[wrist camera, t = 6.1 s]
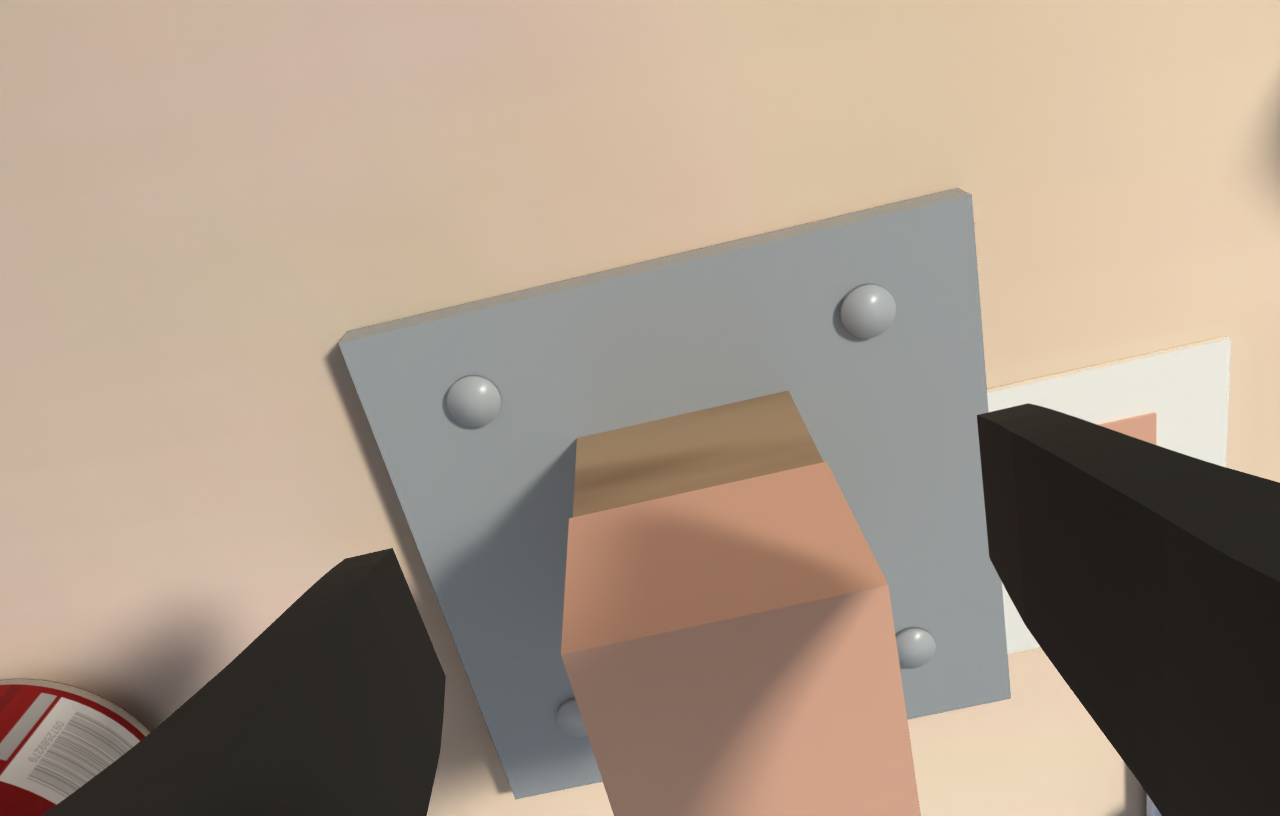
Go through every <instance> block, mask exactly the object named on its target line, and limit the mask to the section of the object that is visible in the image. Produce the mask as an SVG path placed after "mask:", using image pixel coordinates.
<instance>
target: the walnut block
mask: <svg viewBox="0 0 1280 816" xmlns="http://www.w3.org/2000/svg"><path fill="white" fill-rule="evenodd" d="M822 462H823V460H822V458H821V456H820V454H819V452H818V450H817V448H816V445H815V443H814V441H813V439H812V437H811V435H810V433H809V431H808V429H807V427H806V425H805V423H804V421H803V419H802V417H801V415H800V413H799V411H798V409H797V407H796V405H795V403H794V401H793V399H792V397H791V395H790V393H789V391H783V392H779V393H775V394H770V395H766V396H761V397H757V398H752V399H748V400H743V401H739V402H735V403H730V404H726V405H721V406H717V407H712V408H708V409H703V410H699V411H695V412H690V413H686V414H681V415H677V416H672V417H668V418H664V419H659V420H655V421H650V422H646V423H641V424H637V425H632V426H628V427H624V428H619V429H615V430H610V431H606V432H601V433H597V434H592V435H588V436H584V437H579V438H577V446H576V465H575V484H574V503H573V517H577V516H582V515H586V514H591V513H595V512H600V511H604V510H609V509H613V508H618V507H622V506H627V505H632V504H636V503H641V502H645V501H650V500H654V499H659V498H663V497H668V496H672V495H677V494H681V493H686V492H691V491H695V490H700V489H704V488H709V487H713V486H718V485H722V484H727V483H731V482H736V481H740V480H745V479H750V478H754V477H759V476H763V475H768V474H772V473H777V472H781V471H786V470H790V469H795V468H799V467H804V466H809V465H813V464H818V463H822Z"/></svg>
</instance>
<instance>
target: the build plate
mask: <svg viewBox="0 0 1280 816" xmlns="http://www.w3.org/2000/svg"><path fill="white" fill-rule="evenodd" d="M338 344H339V347H340V349H341V352H342V354H343V357H344V360H345V362H346V365H347V367H348V370H349V372H350V375H351V378H352V380H353V383H354V385H355V388H356V390H357V393H358V396H359V398H360V401H361V403H362V406H363V408H364V411H365V414H366V416H367V419H368V421H369V424H370V426H371V429H372V432H373V434H374V437H375V439H376V442H377V444H378V447H379V450H380V452H381V455H382V457H383V460H384V462H385V465H386V468H387V470H388V473H389V475H390V478H391V480H392V483H393V486H394V488H395V491H396V493H397V496H398V498H399V501H400V504H401V506H402V509H403V511H404V514H405V517H406V519H407V522H408V524H409V527H410V529H411V532H412V535H413V537H414V540H415V542H416V545H417V547H418V550H419V553H420V555H421V558H422V560H423V563H424V565H425V568H426V571H427V573H428V576H429V578H430V581H431V583H432V586H433V589H434V591H435V594H436V596H437V599H438V601H439V604H440V607H441V609H442V612H443V614H444V617H445V619H446V622H447V625H448V627H449V630H450V632H451V635H452V637H453V640H454V643H455V645H456V648H457V650H458V653H459V655H460V658H461V661H462V663H463V666H464V668H465V671H466V673H467V676H468V679H469V681H470V684H471V686H472V689H473V691H474V694H475V697H476V699H477V702H478V704H479V707H480V709H481V712H482V715H483V717H484V720H485V722H486V725H487V727H488V730H489V733H490V735H491V738H492V740H493V743H494V745H495V748H496V751H497V753H498V756H499V758H500V761H501V763H502V766H503V769H504V771H505V774H506V776H507V779H508V781H509V784H510V787H511V789H512V792H513V794H514V797H515V799H519V798H524V797H529V796H534V795H539V794H544V793H549V792H554V791H559V790H564V789H568V788H573V787H578V786H583V785H588V784H593V783H598V782H603V780H602V777H601V774H600V771H599V768H598V765H597V762H596V759H595V756H594V753H593V750H592V747H591V744H590V741H589V738H588V735H587V732H586V729H585V726H584V723H583V720H582V717H581V714H580V711H579V708H578V705H577V702H576V699H575V696H574V693H573V690H572V687H571V684H570V681H569V678H568V675H567V672H566V669H565V666H564V663H563V660H562V657H561V644H562V627H563V610H564V594H565V577H566V561H567V544H568V528H569V518H573V503H574V484H575V465H576V446H577V438H579V437H584V436H588V435H592V434H597V433H601V432H606V431H610V430H615V429H619V428H624V427H628V426H632V425H637V424H641V423H646V422H650V421H655V420H659V419H664V418H668V417H672V416H677V415H681V414H686V413H690V412H695V411H699V410H703V409H708V408H712V407H717V406H721V405H726V404H730V403H735V402H739V401H743V400H748V399H752V398H757V397H761V396H766V395H770V394H775V393H779V392H783V391H789V393H790V395H791V397H792V399H793V401H794V403H795V405H796V407H797V409H798V411H799V413H800V415H801V417H802V419H803V421H804V423H805V425H806V427H807V429H808V431H809V433H810V435H811V437H812V439H813V441H814V443H815V445H816V448H817V450H818V452H819V454H820V456H821V458H822V460H823V462H827V463H828V465H829V467H830V469H831V471H832V473H833V475H834V477H835V479H836V481H837V483H838V485H839V487H840V489H841V491H842V493H843V495H844V497H845V499H846V501H847V503H848V505H849V507H850V509H851V511H852V513H853V515H854V517H855V519H856V521H857V523H858V525H859V527H860V529H861V531H862V533H863V535H864V537H865V539H866V541H867V543H868V545H869V547H870V549H871V551H872V553H873V555H874V557H875V559H876V561H877V563H878V565H879V567H880V569H881V571H882V573H883V575H884V577H885V579H886V581H887V583H888V586H889V593H890V600H891V607H892V615H893V622H894V629H895V636H896V643H897V650H898V657H899V664H900V672H901V679H902V686H903V693H904V700H905V707H906V714H907V719H912V718H917V717H922V716H927V715H932V714H937V713H942V712H947V711H952V710H956V709H961V708H966V707H971V706H976V705H981V704H986V703H991V702H996V701H1001V700H1006V699H1010V698H1011V694H1010V681H1009V668H1008V655H1007V642H1006V630H1005V617H1004V604H1003V591H1002V581H1001V579H1000V577H999V575H998V573H997V571H996V570H995V568H994V566H993V564H992V562H991V560H990V558H989V548H988V536H987V525H986V514H985V503H984V491H983V480H982V469H981V458H980V446H979V435H978V424H977V415H979V414H984V413H988V412H989V411H988V398H987V386H986V373H985V360H984V347H983V334H982V321H981V309H980V296H979V283H978V270H977V257H976V244H975V232H974V219H973V206H972V195H971V194H969V193H967V192H965V191H963V190H961V189H959V188H956V189H951V190H947V191H943V192H939V193H934V194H930V195H926V196H922V197H917V198H913V199H909V200H905V201H900V202H896V203H892V204H888V205H883V206H879V207H875V208H871V209H866V210H862V211H858V212H854V213H849V214H845V215H841V216H837V217H832V218H828V219H824V220H820V221H815V222H811V223H807V224H802V225H798V226H794V227H790V228H785V229H781V230H777V231H773V232H768V233H764V234H760V235H756V236H751V237H747V238H743V239H739V240H734V241H730V242H726V243H722V244H717V245H713V246H709V247H705V248H700V249H696V250H692V251H688V252H683V253H679V254H675V255H670V256H666V257H662V258H658V259H653V260H649V261H645V262H641V263H636V264H632V265H628V266H624V267H619V268H615V269H611V270H607V271H602V272H598V273H594V274H590V275H585V276H581V277H577V278H573V279H568V280H564V281H560V282H556V283H551V284H547V285H543V286H538V287H534V288H530V289H526V290H521V291H517V292H513V293H509V294H504V295H500V296H496V297H492V298H487V299H483V300H479V301H475V302H470V303H466V304H462V305H458V306H453V307H449V308H445V309H441V310H436V311H432V312H428V313H424V314H419V315H415V316H411V317H407V318H402V319H398V320H394V321H389V322H385V323H381V324H377V325H372V326H368V327H364V328H360V329H355V330H351V331H347V333H346V334H345V335H344V336H343V338H342V339H341V340H340V342H339V343H338Z"/></svg>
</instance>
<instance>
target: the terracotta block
mask: <svg viewBox="0 0 1280 816" xmlns="http://www.w3.org/2000/svg"><path fill="white" fill-rule="evenodd" d="M561 657H562V660H563V663H564V666H565V669H566V672H567V675H568V678H569V681H570V684H571V687H572V690H573V693H574V696H575V699H576V702H577V705H578V708H579V711H580V714H581V717H582V720H583V723H584V726H585V729H586V732H587V735H588V738H589V741H590V744H591V747H592V750H593V753H594V756H595V759H596V762H597V765H598V768H599V771H600V774H601V777H602V780H603V783H604V786H605V789H606V792H607V795H608V798H609V801H610V804H611V807H612V810H613V813H614V816H921V814H920V807H919V800H918V793H917V786H916V779H915V771H914V764H913V757H912V750H911V743H910V736H909V729H908V722H907V714H906V707H905V700H904V693H903V686H902V679H901V672H900V664H899V657H898V650H897V643H896V636H895V629H894V622H893V615H892V607H891V600H890V593H889V586H888V583H887V581H886V579H885V577H884V575H883V573H882V571H881V569H880V567H879V565H878V563H877V561H876V559H875V557H874V555H873V553H872V551H871V549H870V547H869V545H868V543H867V541H866V539H865V537H864V535H863V533H862V531H861V529H860V527H859V525H858V523H857V521H856V519H855V517H854V515H853V513H852V511H851V509H850V507H849V505H848V503H847V501H846V499H845V497H844V495H843V493H842V491H841V489H840V487H839V485H838V483H837V481H836V479H835V477H834V475H833V473H832V471H831V469H830V467H829V465H828V463H827V462H822V463H818V464H813V465H809V466H804V467H799V468H795V469H790V470H786V471H781V472H777V473H772V474H768V475H763V476H759V477H754V478H750V479H745V480H740V481H736V482H731V483H727V484H722V485H718V486H713V487H709V488H704V489H700V490H695V491H691V492H686V493H681V494H677V495H672V496H668V497H663V498H659V499H654V500H650V501H645V502H641V503H636V504H632V505H627V506H622V507H618V508H613V509H609V510H604V511H600V512H595V513H591V514H586V515H582V516H577V517H573V518H569V528H568V544H567V561H566V577H565V594H564V610H563V627H562V644H561Z"/></svg>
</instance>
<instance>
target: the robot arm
mask: <svg viewBox="0 0 1280 816" xmlns="http://www.w3.org/2000/svg"><path fill="white" fill-rule="evenodd" d="M977 424H978V435H979V446H980V458H981V469H982V480H983V491H984V503H985V514H986V525H987V536H988V548H989V558H990V560H991V562H992V564H993V566H994V568H995V570H996V571H997V573H998V575H999V577H1000V579H1001V581H1002V583H1003V585H1004V587H1005V589H1006V591H1007V593H1008V595H1009V597H1010V598H1011V600H1012V602H1013V604H1014V606H1015V607H1016V609H1017V611H1018V613H1019V615H1020V616H1021V618H1022V620H1023V622H1024V624H1025V625H1026V627H1027V628H1028V630H1029V631H1030V633H1031V634H1032V635H1033V637H1034V638H1035V640H1036V641H1037V643H1038V644H1039V645H1040V647H1041V648H1042V650H1043V651H1044V652H1045V654H1046V655H1047V656H1048V658H1049V659H1050V661H1051V662H1052V663H1053V665H1054V666H1055V668H1056V669H1057V670H1058V672H1059V673H1060V674H1061V676H1062V677H1063V679H1064V680H1065V681H1066V683H1067V684H1068V685H1069V687H1070V688H1071V690H1072V691H1073V692H1074V694H1075V695H1076V696H1077V698H1078V699H1079V700H1080V702H1081V703H1082V705H1083V706H1084V707H1085V709H1086V710H1087V711H1088V713H1089V714H1090V715H1091V717H1092V718H1093V719H1094V721H1095V722H1096V724H1097V725H1098V726H1099V728H1100V729H1101V730H1102V732H1103V733H1104V734H1105V736H1106V737H1107V739H1108V740H1109V741H1110V743H1111V744H1112V745H1113V747H1114V748H1115V749H1116V751H1117V752H1118V754H1119V755H1120V756H1121V758H1122V759H1123V760H1124V762H1125V763H1126V764H1127V766H1128V767H1129V769H1130V770H1131V771H1132V773H1133V774H1134V775H1135V777H1136V778H1137V779H1138V781H1139V782H1140V784H1141V785H1142V787H1143V788H1144V790H1145V791H1146V793H1147V816H1280V483H1278V482H1275V481H1271V480H1268V479H1264V478H1261V477H1257V476H1254V475H1250V474H1247V473H1243V472H1240V471H1236V470H1233V469H1229V468H1226V467H1222V466H1219V465H1216V464H1213V463H1210V462H1206V461H1203V460H1200V459H1197V458H1194V457H1191V456H1188V455H1184V454H1181V453H1178V452H1175V451H1172V450H1169V449H1166V448H1163V447H1160V446H1157V445H1154V444H1152V443H1149V442H1146V441H1143V440H1140V439H1137V438H1134V437H1131V436H1128V435H1125V434H1123V433H1120V432H1117V431H1114V430H1111V429H1108V428H1105V427H1103V426H1100V425H1097V424H1094V423H1091V422H1088V421H1085V420H1083V419H1080V418H1077V417H1074V416H1071V415H1068V414H1065V413H1062V412H1059V411H1055V410H1052V409H1049V408H1045V407H1042V406H1038V405H1033V404H1029V403H1028V404H1023V405H1019V406H1014V407H1010V408H1006V409H1001V410H997V411H992V412H988V413H984V414H979V415H977ZM445 678H446V677H445V674H444V672H443V669H442V667H441V665H440V662H439V660H438V657H437V655H436V652H435V650H434V648H433V645H432V643H431V640H430V638H429V635H428V633H427V631H426V628H425V626H424V623H423V621H422V618H421V616H420V614H419V611H418V609H417V606H416V604H415V601H414V599H413V597H412V594H411V592H410V589H409V587H408V584H407V582H406V580H405V577H404V575H403V572H402V570H401V567H400V565H399V563H398V560H397V558H396V555H395V553H394V550H393V548H391V549H386V550H382V551H378V552H373V553H369V554H364V555H360V556H356V557H351V558H347V559H344V560H343V561H342V562H340V563H339V564H338V565H336V566H335V567H334V568H332V569H331V570H330V571H329V572H328V573H326V574H325V575H324V576H323V577H322V578H321V579H320V580H318V581H317V582H316V583H315V584H314V585H313V586H312V587H311V588H310V589H308V590H307V591H306V592H305V593H304V594H303V595H302V596H301V597H300V598H299V599H298V600H297V601H296V602H294V603H293V604H292V605H291V606H290V607H289V608H288V609H287V610H286V611H285V612H284V613H283V614H282V615H281V616H280V617H279V618H278V619H277V620H275V621H274V622H273V623H272V624H271V625H270V626H269V627H268V628H267V629H266V630H265V631H264V632H263V633H262V634H261V635H260V636H258V637H257V638H256V639H255V640H254V641H253V642H252V643H251V644H250V645H249V646H248V647H247V648H246V649H245V650H244V651H243V652H241V653H240V654H239V655H238V656H237V657H236V658H235V659H234V660H233V661H232V662H231V663H230V664H229V665H228V666H226V667H225V668H224V669H223V670H222V671H221V672H220V673H218V674H217V675H216V676H215V677H214V678H213V679H212V680H211V681H209V682H208V683H207V684H206V685H205V686H204V687H203V688H201V689H200V690H199V691H198V692H197V693H196V694H195V695H193V696H192V697H191V698H190V699H189V700H188V701H187V702H186V703H184V704H183V705H182V706H181V707H180V708H179V709H178V710H176V711H175V712H174V713H173V714H172V715H171V716H170V717H168V718H167V719H166V720H165V721H164V722H163V723H162V724H160V725H159V726H158V727H157V728H156V729H154V730H153V731H152V732H151V733H150V734H148V735H147V736H146V737H145V738H144V739H142V740H141V741H140V742H139V743H137V744H136V745H135V746H134V747H132V748H131V749H130V750H129V751H127V752H126V753H125V754H124V755H122V756H121V757H120V758H119V759H117V760H116V761H115V762H113V763H112V764H111V765H109V766H108V767H107V768H105V769H104V770H103V771H101V772H100V773H99V774H97V775H96V776H95V777H93V778H92V779H91V780H89V781H88V782H87V783H85V784H84V785H83V786H81V787H80V788H79V789H77V790H76V791H75V792H74V793H72V794H71V795H69V796H68V797H67V798H65V799H64V800H63V801H61V802H60V803H58V804H57V805H56V806H54V807H53V808H51V809H50V810H48V811H47V812H46V813H44V814H43V815H41V816H426V815H427V811H428V806H429V801H430V797H431V792H432V787H433V783H434V778H435V774H436V769H437V764H438V759H439V754H440V746H441V735H442V724H443V711H444V694H445Z"/></svg>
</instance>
